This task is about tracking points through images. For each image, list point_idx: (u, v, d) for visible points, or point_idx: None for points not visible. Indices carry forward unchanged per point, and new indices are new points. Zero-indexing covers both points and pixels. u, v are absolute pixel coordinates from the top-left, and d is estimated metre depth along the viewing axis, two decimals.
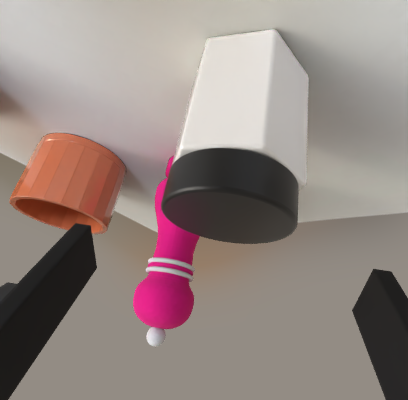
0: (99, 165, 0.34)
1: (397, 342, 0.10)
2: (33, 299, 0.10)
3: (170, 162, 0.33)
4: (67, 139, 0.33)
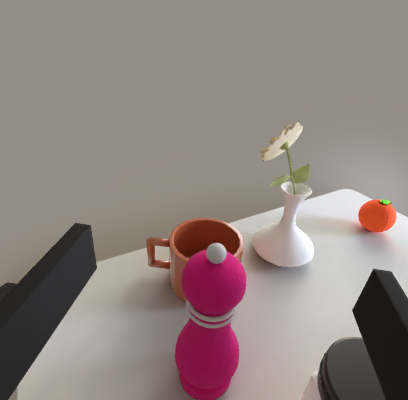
0: None
1: (397, 342, 0.10)
2: (33, 299, 0.10)
3: None
4: None
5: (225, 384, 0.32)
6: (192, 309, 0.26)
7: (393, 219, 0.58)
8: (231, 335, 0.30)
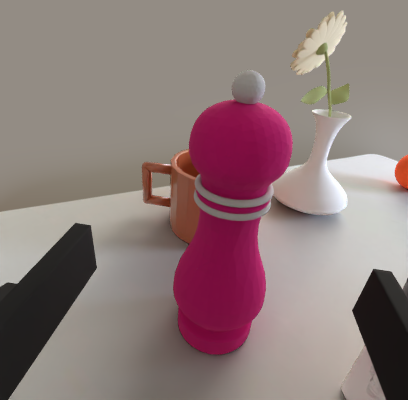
0: None
1: (397, 342, 0.10)
2: (33, 299, 0.10)
3: None
4: None
5: (244, 331, 0.22)
6: (204, 191, 0.17)
7: None
8: (258, 253, 0.20)
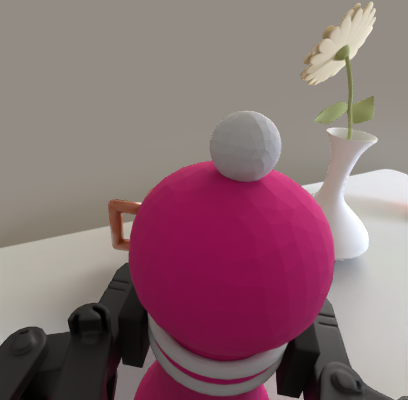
0: None
1: None
2: None
3: None
4: None
5: None
6: (160, 334, 0.09)
7: None
8: (262, 397, 0.12)
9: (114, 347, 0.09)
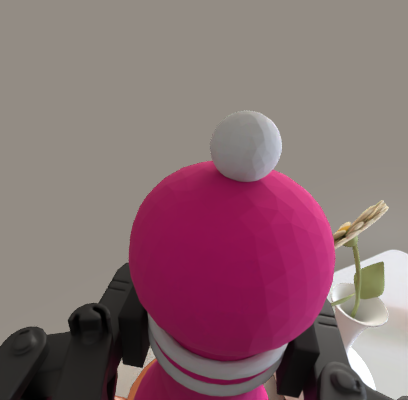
0: None
1: None
2: None
3: None
4: None
5: None
6: (160, 334, 0.09)
7: None
8: (262, 397, 0.12)
9: (114, 347, 0.09)
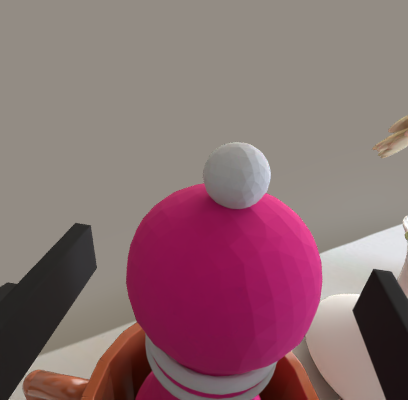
0: None
1: (397, 342, 0.10)
2: (33, 299, 0.10)
3: None
4: None
5: None
6: (157, 350, 0.09)
7: None
8: None
9: None
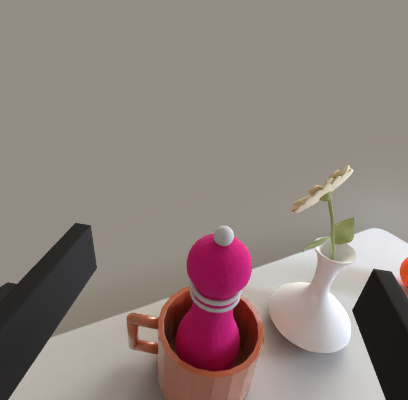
0: None
1: (397, 342, 0.10)
2: (33, 299, 0.10)
3: None
4: None
5: None
6: (196, 292, 0.26)
7: None
8: (233, 323, 0.30)
9: None
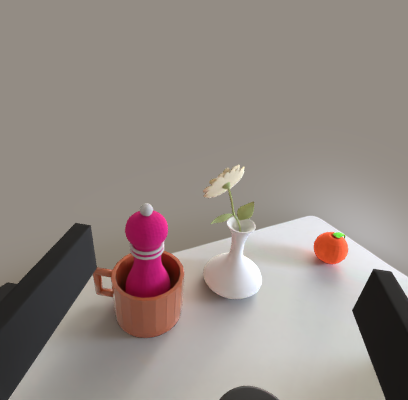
0: (163, 323, 0.44)
1: (397, 342, 0.10)
2: (33, 299, 0.10)
3: None
4: (180, 312, 0.48)
5: None
6: (132, 247, 0.41)
7: (344, 253, 0.59)
8: (162, 271, 0.44)
9: None
